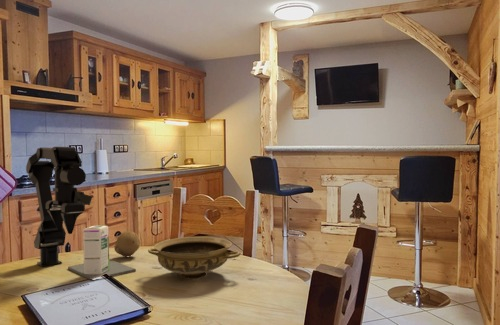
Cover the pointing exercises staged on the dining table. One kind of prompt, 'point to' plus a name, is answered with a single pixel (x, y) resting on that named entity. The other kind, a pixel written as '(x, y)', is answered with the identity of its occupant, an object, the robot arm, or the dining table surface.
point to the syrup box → (96, 250)
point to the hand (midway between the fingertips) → (64, 232)
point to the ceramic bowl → (193, 255)
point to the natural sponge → (127, 243)
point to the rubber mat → (113, 270)
